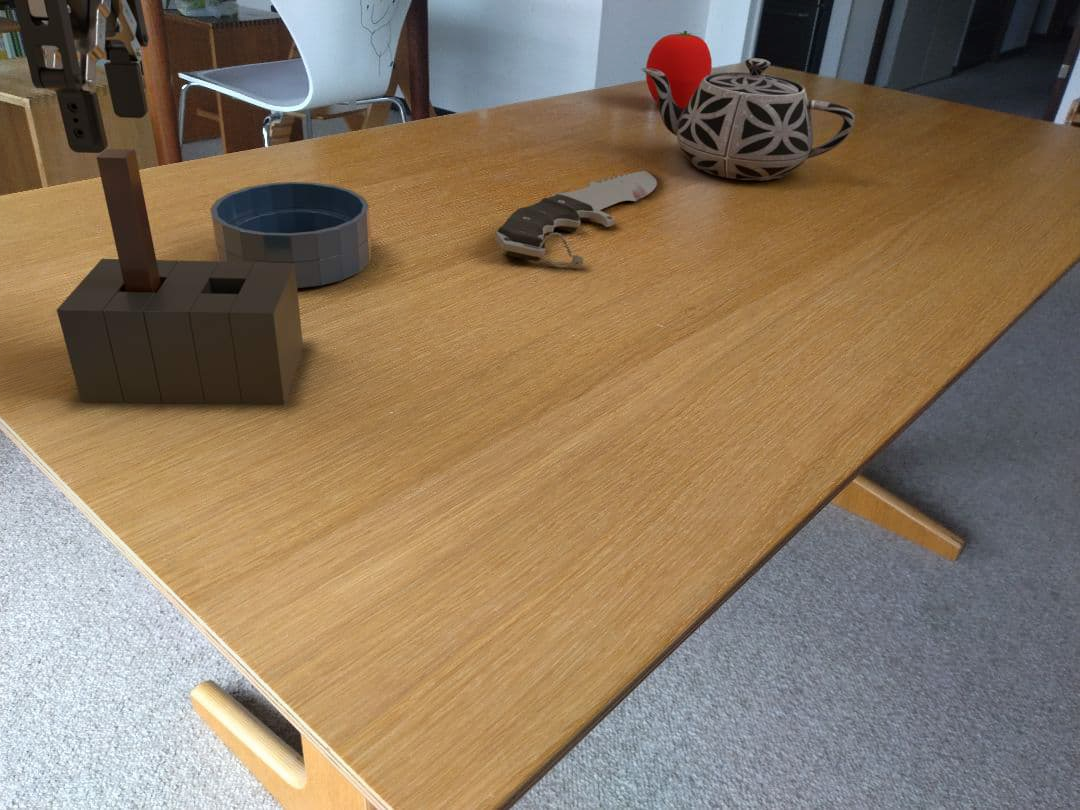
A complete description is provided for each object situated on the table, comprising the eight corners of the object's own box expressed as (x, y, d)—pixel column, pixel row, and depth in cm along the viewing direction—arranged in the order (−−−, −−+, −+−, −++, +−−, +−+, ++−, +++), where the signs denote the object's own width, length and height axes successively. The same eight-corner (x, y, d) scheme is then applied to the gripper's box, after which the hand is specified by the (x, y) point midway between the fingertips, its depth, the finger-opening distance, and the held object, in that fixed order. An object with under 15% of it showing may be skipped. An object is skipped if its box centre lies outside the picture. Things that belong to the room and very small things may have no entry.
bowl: (202, 292, 84) (192, 232, 81) (238, 232, 97) (230, 179, 94) (363, 295, 85) (359, 237, 82) (377, 236, 98) (374, 184, 95)
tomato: (670, 119, 149) (680, 39, 142) (630, 104, 156) (638, 27, 149) (718, 113, 154) (731, 35, 147) (678, 98, 162) (688, 24, 155)
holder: (81, 403, 67) (55, 309, 63) (121, 345, 75) (101, 258, 70) (284, 406, 68) (273, 313, 64) (303, 348, 76) (294, 262, 72)
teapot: (649, 135, 140) (661, 34, 132) (846, 167, 131) (872, 61, 123) (611, 166, 125) (622, 55, 117) (831, 205, 116) (859, 87, 108)
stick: (144, 380, 70) (96, 157, 61) (152, 367, 72) (106, 148, 62) (170, 380, 70) (126, 158, 61) (177, 368, 72) (135, 149, 62)
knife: (590, 168, 123) (592, 139, 121) (662, 180, 120) (666, 150, 118) (483, 260, 94) (483, 223, 92) (574, 279, 91) (577, 241, 89)
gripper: (37, -147, 58) (93, 105, 66) (-76, -145, 46) (10, 163, 54) (155, -141, 58) (195, 108, 67) (74, -137, 46) (135, 166, 55)
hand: (112, 132), depth 61 cm, fingers open, 8 cm apart
